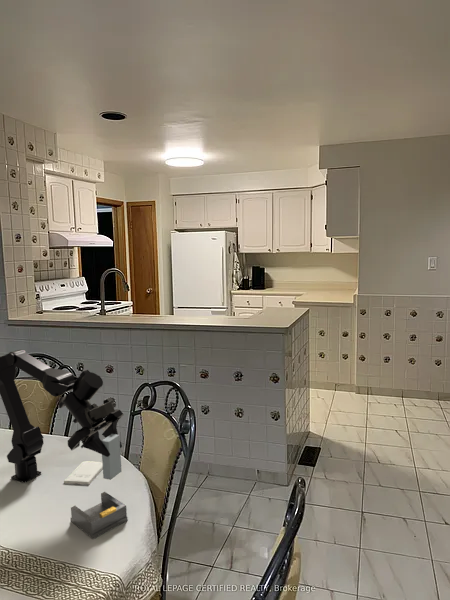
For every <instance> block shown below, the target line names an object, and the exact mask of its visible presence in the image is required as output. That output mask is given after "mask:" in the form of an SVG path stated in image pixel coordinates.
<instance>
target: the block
mask: <svg viewBox="0 0 450 600" xmlns="http://www.w3.org/2000/svg"><path fill="white" fill-rule="evenodd" d="M101 441H102V443H103V444H104V445H105V447H106V448H107V449H108V451H109V453H110V456H109V457H106V456H104V455H102V454H101V462H102V464H103V469H102V479H105V480H110V481H111V480H112V479H114V478H115V477H117V475H119V474H120V473H122V457H121V455H122V454H121V448H120V441H121V437H120V434H118V435H117V434H111V435H110V436H108V437H106V438H105V437H104V438H103V439H102V440H101Z"/></svg>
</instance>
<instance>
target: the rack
mask: <svg viewBox="0 0 450 600" xmlns="http://www.w3.org/2000/svg"><path fill="white" fill-rule="evenodd" d="M100 497H101V498H100V499H101V501H100V502H101V503H98V504H96V505H94V506H92V507H90V508H88V509H86V510H82V509H80V508H79V507H78V506H76V505H73V506H71V507H70V514H71V515H70V516H71V517H70V522H71V523H73V524H74V525H75V526H76V527H77V528H78V529H80V530H81V531H83V532H84V533H85V534H86V535H87V536H89V537H90V538H91V539H92V540H94V539H96V538H98V537H99V536H102V535H103V534H105V533H107V532H109V531H110V530H113V529H115V528H116V527H117V526H120V525H121V524H123V523H125V522H127V521H128V520H129V519H128V515H127V514H128V513H127V505H126V504H125V503H123V502H122V501H120V500H119V499H117V498H116V497H113V496H112V495H111V494H109V493H108V492H106V491H104V492H101V493H100Z"/></svg>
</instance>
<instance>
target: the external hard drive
mask: <svg viewBox="0 0 450 600" xmlns="http://www.w3.org/2000/svg"><path fill="white" fill-rule="evenodd" d="M101 472H103V464H102V461H92V460H90V461H87V460H85V461H84V460H83V461H82V462H81V463H80V464H79V465H78V466H77V467H76V468H75V469H74V470H73V471H72V472H71V473H70V475H68V476H67V477H66V478H65V479H64V480H63V484H66V485H67V484H70V485H77V484H78V485H84V486H85V485H86V486H87V485H88V486H89V485H90V484H92V482H93V481H94V480H95V479H96V478H97V476H99V474H100V473H101Z"/></svg>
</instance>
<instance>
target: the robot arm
mask: <svg viewBox="0 0 450 600" xmlns="http://www.w3.org/2000/svg"><path fill="white" fill-rule="evenodd" d="M17 369H19V370H21V371H22V372H24V373H25V374H27V375H29V376H31V377H32V378H34V379H35V380H37V381H39V382H40V383H41V384H42V387H43V389H44V390H45V391H46V392H48V394H50V395H51V396H52V397H59V396H61V395H64V394H66V395H64V396H63V397H62V396H61V397H60V398H59V403H58V408H59V409H62V408H64V407H65V408H66V409H67V410H68V412H69V413H70V415H72V417H73V418H74V419H73V420H72V422H73V423H74V424H77V423H78V424H79V425H80V427H81V428H80V429H78V430H76V431H74V433H73V434H72V435H71V436H70V437H69V438H68V440H67V447H68V448H69V449H70V451H74V450H76V449H77V448H79V447H80V448H81V449H83V448H84V449H88V450H90V451H93V452H96V453H97V454H100V455H101V456H102V455H104V456H106V457H109V456H110V453H109V451H108V449H107V448H106V447H105V445H104V444H103V443H102V440H101V438H100V434H99V433H100V432H99V431H100V430H102V431H103V432H102V434H101V435H102V436H103V437H104V439H105V438H106V437H108V436H110V435H111V434H117V435H119V433H118V429H117V426H118V423H119V421H120V419H122V418H123V416H124V413H123V412H122V411H121V409H118V408H117V409H115V408H116V407H117V404H116V402H115V401H114V399H113V397H108V398H106V399H104V400H103V401H102V402H103V404H101V405H97V404H96V403H93V404H92V403H91V402H90V401H89V400H92V398H94V396H95V395H96V394H97V392H99V391H100V389H101V388H102V387H103V385H104V382H103V379H102V377H101V376H100V375H98V374H97V373H96V372H95V373H94V372H93V371H92V372H91V371H90V370H89V369H85V370H82V371H81V373H80V374H79V376H75V375H74V374H73V373H71V372H70V371H67V370H64V369H57V368H52V367H50V366H49V365H48V364H46V363H44V362H43V361H40V360H39V359H37V358H35V357H33V356H32V355H30V354H28V352H27V351H26V350H25V349H17V350H14V351H9V352H8V353H7V354H4V355H0V397H1V400H2V404H3V406H4V408H5V411H6V414H7V416H8V419H9V423H10V425H11V428H12V430H13V431H12V437H11V446H12V449H11V450H10V451H9V452H8V454H6V458H7V459H6V460H7V461H8V463H11V464H13V465H14V473H15V474H13V475H12V476H10V478H11V479H12V480H14V481H18V482H20V483H27V482H28V481H30V480H32V479H34V478H36V477H38V476H40V475H42V471H41V470H40V471H39V470H38V462H37V457H36V456H37V455H38V454H41V453H42V448H43V446H44V436H43V434H42V431H41V427H39V426H36V427H35V426H34V425H32V424H31V421H30V420H29V417H28V414H27V412H26V409H25V406H24V402H23V400H22V397H21V395H20V392H19V390H18V387H17V384H16V381H15V380H16V375H17ZM80 442H81V443H82V445H81V444H80ZM80 445H81V446H80ZM122 447H123V444H122V442H121V440H120V449H122Z"/></svg>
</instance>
